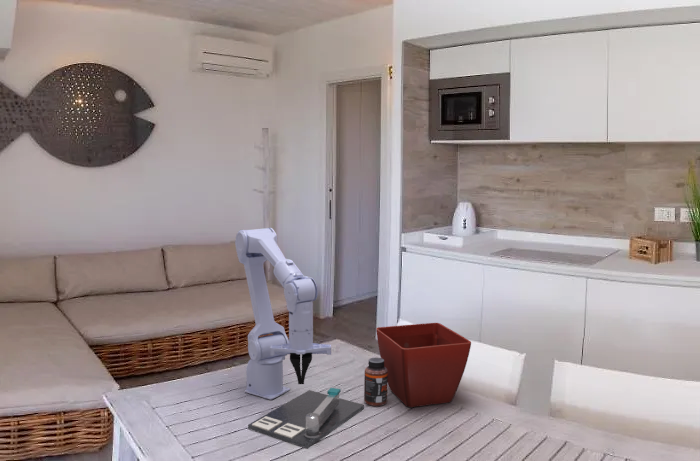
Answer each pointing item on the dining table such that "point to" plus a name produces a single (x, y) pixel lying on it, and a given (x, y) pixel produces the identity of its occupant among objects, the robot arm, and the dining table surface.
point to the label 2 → (289, 430)
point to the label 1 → (267, 423)
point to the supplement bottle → (375, 382)
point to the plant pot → (423, 362)
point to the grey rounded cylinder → (312, 426)
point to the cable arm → (328, 405)
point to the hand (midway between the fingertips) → (301, 382)
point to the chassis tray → (297, 413)
